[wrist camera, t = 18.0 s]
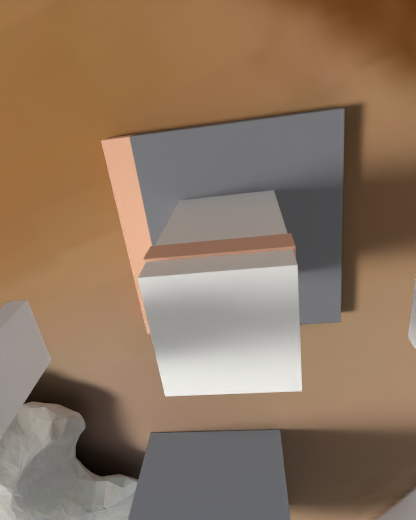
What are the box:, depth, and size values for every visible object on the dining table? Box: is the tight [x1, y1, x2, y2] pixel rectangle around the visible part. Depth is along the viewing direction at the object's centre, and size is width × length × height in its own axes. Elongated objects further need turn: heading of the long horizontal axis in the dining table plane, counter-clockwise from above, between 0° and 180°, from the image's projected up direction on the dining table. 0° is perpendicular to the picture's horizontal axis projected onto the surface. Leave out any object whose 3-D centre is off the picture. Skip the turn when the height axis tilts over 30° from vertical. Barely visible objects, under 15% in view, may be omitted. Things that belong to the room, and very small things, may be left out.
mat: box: [101, 107, 345, 334], centre depth 21 cm, size 12×12×1 cm
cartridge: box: [138, 190, 302, 396], centre depth 17 cm, size 5×5×9 cm
